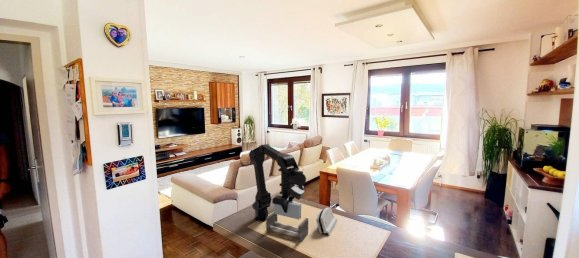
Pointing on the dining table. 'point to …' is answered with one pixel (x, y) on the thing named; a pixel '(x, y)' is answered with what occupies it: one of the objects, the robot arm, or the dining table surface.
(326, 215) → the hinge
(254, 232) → the dining table surface
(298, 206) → the door panel
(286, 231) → the grey open box
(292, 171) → the robot arm
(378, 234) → the dining table surface
